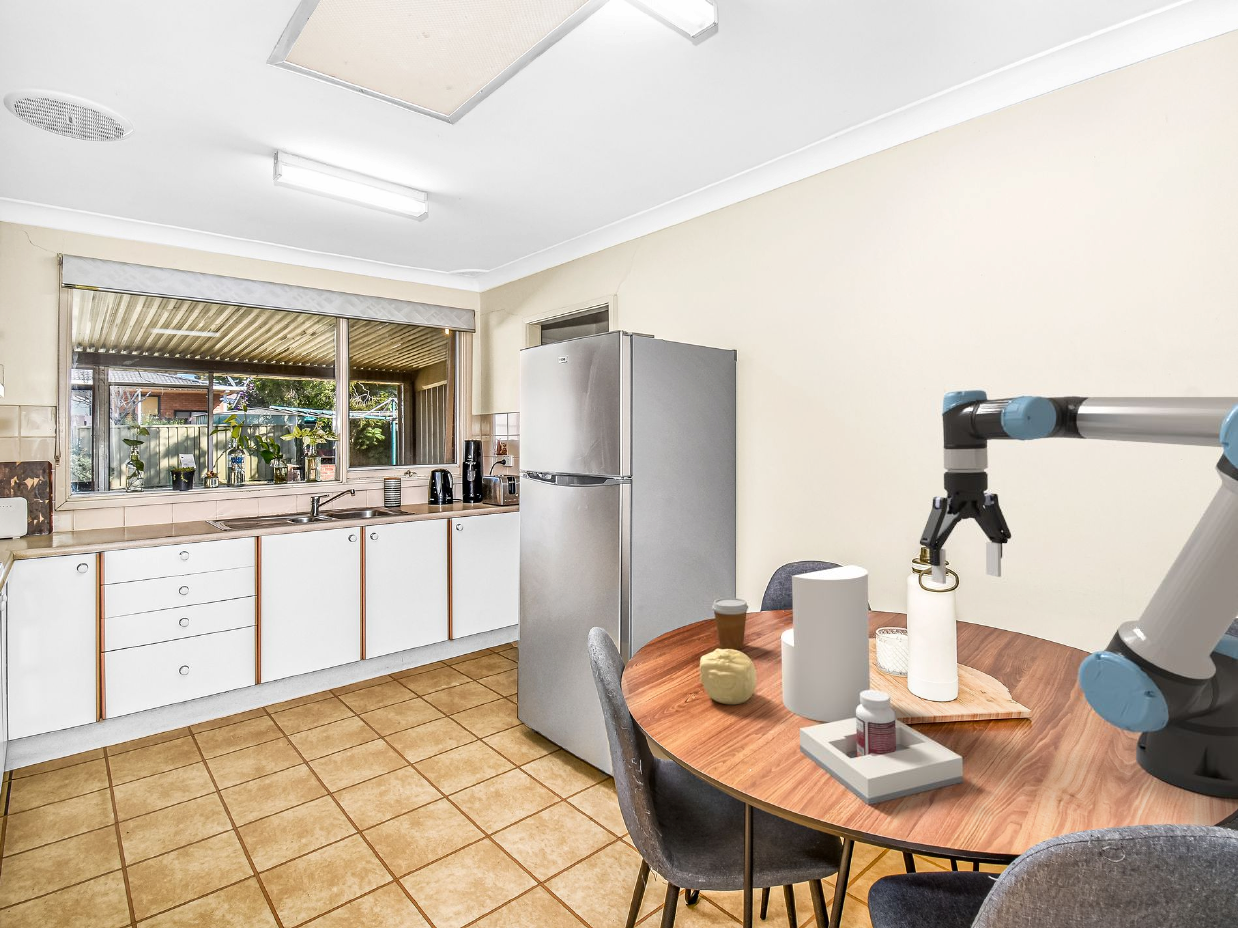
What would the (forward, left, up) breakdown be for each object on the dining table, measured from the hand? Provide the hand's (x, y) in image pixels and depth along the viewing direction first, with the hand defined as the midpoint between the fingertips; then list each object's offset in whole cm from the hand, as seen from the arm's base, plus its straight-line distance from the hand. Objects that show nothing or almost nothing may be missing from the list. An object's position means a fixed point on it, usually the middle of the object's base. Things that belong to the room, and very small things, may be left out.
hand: (966, 578), depth 125 cm
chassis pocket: (-10, +30, -27) cm, 41 cm away
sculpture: (+24, +40, -27) cm, 54 cm away
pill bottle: (-10, +30, -26) cm, 41 cm away
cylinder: (+14, +23, -27) cm, 38 cm away
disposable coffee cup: (+54, +24, -27) cm, 65 cm away
